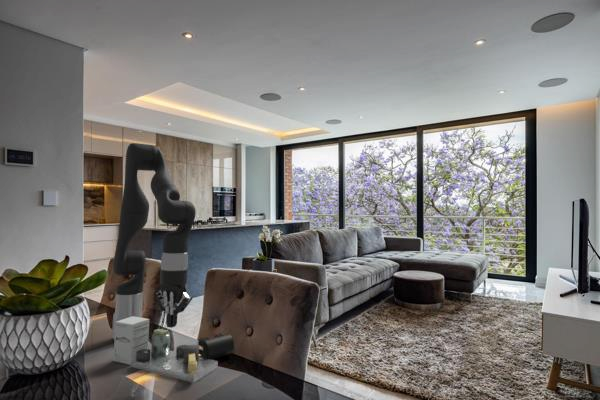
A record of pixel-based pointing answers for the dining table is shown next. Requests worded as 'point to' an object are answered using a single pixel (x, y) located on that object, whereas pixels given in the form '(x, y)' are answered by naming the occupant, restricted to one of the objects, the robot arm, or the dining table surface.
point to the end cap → (216, 346)
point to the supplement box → (130, 338)
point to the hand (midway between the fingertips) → (171, 326)
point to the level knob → (191, 357)
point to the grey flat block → (170, 360)
